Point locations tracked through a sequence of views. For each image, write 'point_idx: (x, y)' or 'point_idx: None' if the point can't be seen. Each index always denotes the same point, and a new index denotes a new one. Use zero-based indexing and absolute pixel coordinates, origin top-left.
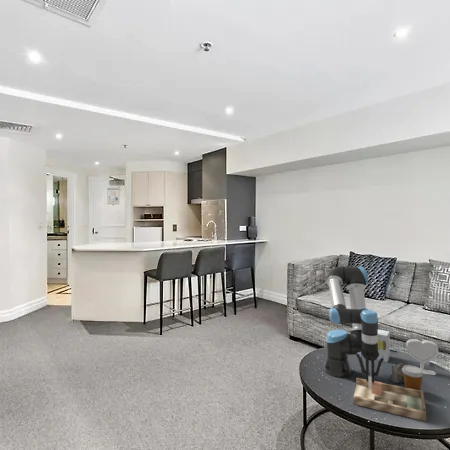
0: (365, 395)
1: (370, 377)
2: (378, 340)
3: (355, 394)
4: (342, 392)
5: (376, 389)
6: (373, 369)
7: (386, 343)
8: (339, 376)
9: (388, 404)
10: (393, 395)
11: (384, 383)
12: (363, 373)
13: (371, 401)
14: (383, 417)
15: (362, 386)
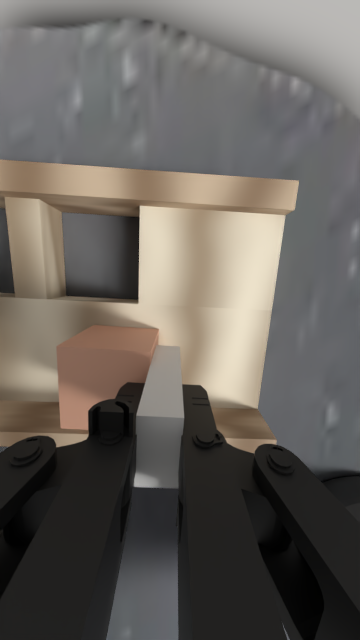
0: (199, 279)
1: (154, 405)
2: None
3: (269, 265)
4: (329, 319)
5: (115, 337)
6: (5, 626)
7: None
8: (338, 480)
9: (20, 169)
10: (17, 356)
11: (56, 445)
12: (266, 444)
13: (154, 171)
14: (82, 106)
15: (219, 394)
